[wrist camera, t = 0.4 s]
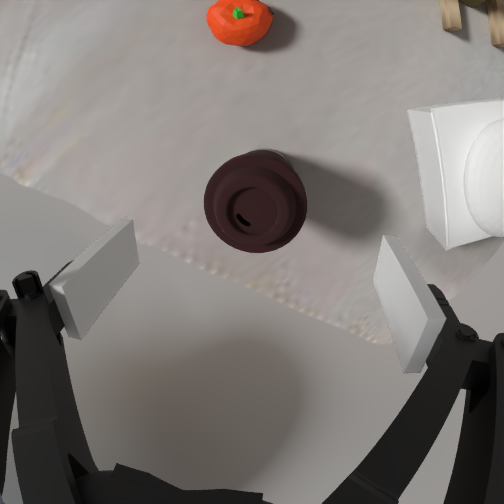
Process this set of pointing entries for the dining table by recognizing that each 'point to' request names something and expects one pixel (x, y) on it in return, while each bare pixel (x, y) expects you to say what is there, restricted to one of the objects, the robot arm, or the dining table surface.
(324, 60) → the dining table surface
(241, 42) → the pumpkin
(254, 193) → the coffee cup
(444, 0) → the pair of wooden strips
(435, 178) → the butter dish
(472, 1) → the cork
